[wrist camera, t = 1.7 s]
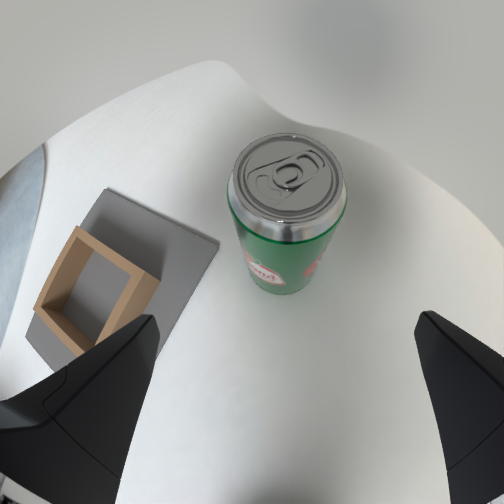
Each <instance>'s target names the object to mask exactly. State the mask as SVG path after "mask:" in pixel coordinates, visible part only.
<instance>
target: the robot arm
mask: <svg viewBox="0 0 504 504" xmlns="http://www.w3.org/2000/svg"><path fill="white" fill-rule="evenodd" d="M414 336H415V341H416V345H417V349H418V353H419V358H420V362H421V367H422V371H423V375H424V378H425V381H426V385H427V388H428V391H429V395H430V398H431V402H432V406H433V409H434V413H435V417H436V421H437V425H438V429H439V434H440V438H441V443H442V448H443V453H444V458H445V464H446V470H447V477H448V484H449V492H450V500H451V504H487V503H489V502H490V504H504V357H502V356H501V355H500V354H498V353H497V352H496V351H494V350H493V349H491V348H490V347H488V346H487V345H485V344H484V343H482V342H481V341H479V340H478V339H476V338H475V337H473V336H472V335H470V334H468V333H467V332H465V331H464V330H462V329H461V328H459V327H458V326H456V325H455V324H453V323H451V322H450V321H448V320H447V319H445V318H444V317H442V316H440V315H439V314H437V313H436V312H434V311H431V310H430V311H423V312H422V313H421V314H420V316H419V319H418V322H417V325H416V327H415V331H414ZM159 342H160V332H159V328H158V325H157V322H156V319H155V316H154V315H152V314H141V315H140V316H138V317H137V318H135V319H134V320H132V321H131V322H129V323H128V324H126V325H125V326H123V327H122V328H120V329H119V330H117V331H116V332H114V333H113V334H111V335H110V336H108V337H107V338H105V339H104V340H102V341H101V342H99V343H98V344H96V345H95V346H93V347H92V348H90V349H89V350H87V351H86V352H85V353H83V354H82V355H80V356H79V357H77V358H76V359H74V360H73V361H71V362H70V363H68V364H67V365H65V366H64V367H62V368H61V369H59V370H58V371H56V372H55V373H53V374H52V375H50V376H49V377H47V378H45V379H44V380H42V381H40V382H39V383H37V384H35V385H33V386H32V387H30V388H28V389H26V390H24V391H23V392H21V393H19V394H17V395H15V396H14V397H12V398H10V399H7V400H3V401H0V504H115V501H116V497H117V493H118V489H119V485H120V481H121V480H120V479H121V476H122V473H123V469H124V465H125V462H126V458H127V455H128V451H129V448H130V444H131V441H132V437H133V434H134V431H135V427H136V424H137V421H138V418H139V414H140V411H141V408H142V405H143V402H144V399H145V396H146V393H147V390H148V387H149V384H150V380H151V377H152V373H153V369H154V364H155V359H156V355H157V350H158V346H159Z"/></svg>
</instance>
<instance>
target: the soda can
mask: <svg viewBox="0 0 504 504" xmlns="http://www.w3.org/2000/svg"><path fill="white" fill-rule="evenodd" d="M227 199H228V204H229V208H230V211H231V214H232V217H233V221H234V224H235V227H236V230H237V234H238V237H239V240H240V243H241V247H242V250H243V253H244V256H245V259H246V263H247V266H248V269H249V272H250V275H251V277H252V279H253V280H254V282H255V283H256V284H257V285H258V286H259V287H260V288H261V289H263V290H264V291H267V292H269V293H272V294H276V295H288V294H292V293H295V292H297V291H299V290H301V289H302V288H303V287H304V286H305V285H306V284H307V283H308V282H309V281H310V279H311V278H312V276H313V274H314V272H315V270H316V268H317V266H318V264H319V262H320V260H321V258H322V256H323V254H324V252H325V250H326V248H327V246H328V244H329V242H330V240H331V238H332V236H333V234H334V232H335V230H336V228H337V226H338V224H339V222H340V220H341V218H342V216H343V213H344V210H345V208H346V202H347V189H346V184H345V181H344V179H343V173H342V169H341V166H340V164H339V162H338V160H337V159H336V157H335V156H334V155H333V153H332V152H331V151H330V150H329V149H328V148H327V147H325V146H324V145H323V144H321V143H320V142H318V141H316V140H314V139H312V138H309V137H306V136H303V135H299V134H291V133H280V134H273V135H269V136H265V137H263V138H260V139H258V140H256V141H254V142H253V143H251V144H250V145H249V146H247V147H246V148H245V149H244V150H243V151H242V152H241V154H240V155H239V157H238V158H237V160H236V163H235V165H234V169H233V171H232V173H231V175H230V177H229V180H228V185H227Z"/></svg>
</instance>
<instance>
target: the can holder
mask: <svg viewBox="0 0 504 504" xmlns="http://www.w3.org/2000/svg"><path fill="white" fill-rule="evenodd" d="M218 249H219V246H218V245H216V244H214V243H212V242H210V241H207V240H205V239H203V238H201V237H199V236H197V235H195V234H193V233H191V232H189V231H187V230H185V229H183V228H181V227H179V226H177V225H175V224H173V223H171V222H169V221H167V220H165V219H163V218H161V217H159V216H157V215H155V214H154V213H152V212H150V211H148V210H146V209H144V208H142V207H140V206H138V205H136V204H134V203H132V202H130V201H128V200H126V199H124V198H122V197H120V196H118V195H116V194H114V193H112V192H110V191H108V190H106V189H104V190H103V192H102V193H101V195H100V196H99V198H98V199H97V200H96V202H95V203H94V205H93V206H92V208H91V209H90V211H89V212H88V214H87V216H86V217H85V219H84V220H83V222H82V223H81V225H80V227H79V226H77V225H76V227H75V229H74V230H73V232H72V234H71V235H70V237H69V239H68V241H67V242H66V244H65V246H64V248H63V249H62V251H61V253H60V255H59V257H58V258H57V260H56V262H55V264H54V266H53V268H52V270H51V272H50V274H49V276H48V278H47V280H46V282H45V284H44V286H43V288H42V290H41V292H40V294H39V297H38V299H37V301H36V303H35V306H34V308H33V310H34V311H35V313H34V316H33V318H32V321H31V323H30V326H29V328H28V331H27V333H26V336H25V337H26V339H27V340H28V341H29V343H30V344H31V345H32V346H33V348H34V349H35V350H36V351H37V353H38V354H39V355H40V356H41V357H42V359H43V360H44V361H45V362H46V363H47V364H48V366H49V367H50V368H51V369H52V370H53V371H54V372H56V371H58V370H59V369H61V368H62V367H64V366H65V365H67V364H68V363H70V362H71V361H73V360H74V359H76V358H77V357H79V356H80V355H82V354H83V353H85V352H86V351H87V350H89V349H90V348H92V347H93V346H95V345H96V344H98V343H99V342H101V341H102V340H104V339H105V338H107V337H108V336H110V335H111V334H113V333H114V332H116V331H117V330H119V329H120V328H122V327H123V326H125V325H126V324H128V323H129V322H131V321H132V320H134V319H135V318H137V317H138V316H140V315H141V314H152V315H154V316H155V319H156V322H157V325H158V328H159V332H160V342H159V346H158V350H157V355H156V359H157V357H158V355H159V353H160V351H161V349H162V348H163V346H164V344H165V342H166V340H167V338H168V337H169V335H170V333H171V331H172V329H173V328H174V326H175V324H176V322H177V320H178V319H179V317H180V315H181V313H182V311H183V310H184V308H185V306H186V304H187V303H188V301H189V299H190V297H191V296H192V294H193V292H194V290H195V289H196V287H197V285H198V283H199V282H200V280H201V278H202V276H203V275H204V273H205V271H206V270H207V268H208V266H209V264H210V263H211V261H212V259H213V258H214V256H215V254H216V252H217V251H218ZM156 359H155V360H156Z"/></svg>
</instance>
